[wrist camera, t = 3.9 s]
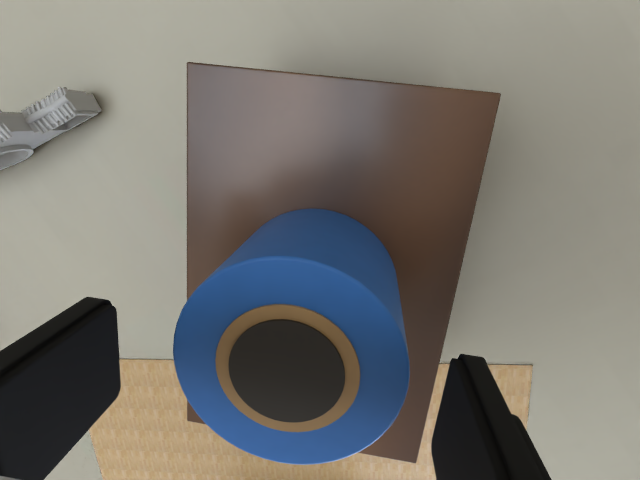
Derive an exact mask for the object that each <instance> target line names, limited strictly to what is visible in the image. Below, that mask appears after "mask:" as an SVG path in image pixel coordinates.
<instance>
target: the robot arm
mask: <svg viewBox="0 0 640 480" xmlns="http://www.w3.org/2000/svg"><path fill="white" fill-rule="evenodd" d="M120 388H121V380H120V363H119V346H118V329H117V312H116V308H115V307H114V306H112V304H111V302H110V301H109V300H105V299H98V298H92V297H86V298H84V299H82V300H81V301H79V302H78V303H76V304H74V305H73V306H71V307H70V308H68V309H66V310H65V311H63V312H62V313H60V314H59V315H57V316H55V317H54V318H52V319H51V320H49V321H47V322H46V323H44V324H43V325H41V326H39V327H38V328H36V329H35V330H33V331H32V332H30V333H28V334H27V335H25V336H24V337H22V338H20V339H19V340H17V341H16V342H14V343H12V344H11V345H9V346H8V347H6V348H5V349H3V350H1V351H0V480H44V479H45V478H46V476H47V475H48V474H49V473H50V472H51V471H52V470H53V469H54V468H55V466H56V465H57V464H58V463H59V462H60V461H61V460H62V459H63V458H64V456H65V455H66V454H67V453H68V452H69V451H70V450H71V449H72V448H73V446H74V445H75V444H76V443H77V442H78V441H79V440H80V439H81V438H82V436H83V435H84V434H85V433H86V432H87V431H88V430H89V429H90V428H91V426H92V425H93V424H94V423H95V422H96V421H97V420H98V419H99V418H100V416H101V415H102V414H103V413H104V412H105V411H106V410H107V409H108V408H109V406H110V405H111V404H112V403H113V402H114V401H115V400H116V398H117V397H118V395H119V392H120ZM431 453H432V459H433V464H434V469H435V474H436V480H551V478H550V476H549V474H548V472H547V470H546V468H545V466H544V464H543V462H542V460H541V459H540V457H539V455H538V453H537V451H536V449H535V447H534V445H533V443H532V441H531V439H530V437H529V435H528V433H527V431H526V429H525V427H524V425H523V423H522V421H521V420H520V419H519V417H518V416H516V415H514V414H511V412H510V410H509V408H508V406H507V404H506V402H505V400H504V398H503V396H502V394H501V391H500V389H499V387H498V385H497V383H496V381H495V379H494V377H493V375H492V373H491V371H490V369H489V367H488V365H487V363H486V361H485V359H484V358H483V357H478V356H471V355H465V354H460V355H459V357H458V359H454V358H452V359H451V361H450V365H449V369H448V373H447V378H446V382H445V386H444V390H443V394H442V399H441V403H440V407H439V411H438V415H437V420H436V424H435V428H434V432H433V437H432V443H431Z"/></svg>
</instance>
